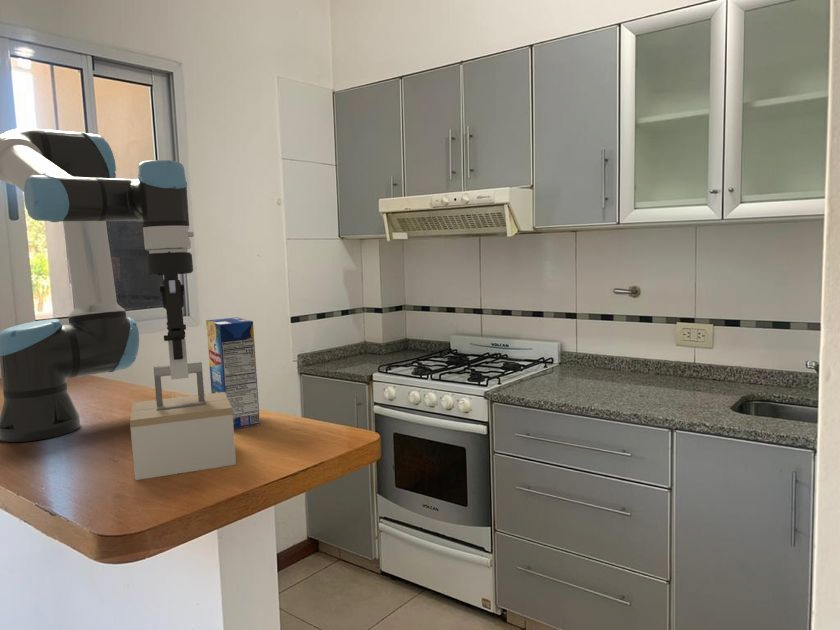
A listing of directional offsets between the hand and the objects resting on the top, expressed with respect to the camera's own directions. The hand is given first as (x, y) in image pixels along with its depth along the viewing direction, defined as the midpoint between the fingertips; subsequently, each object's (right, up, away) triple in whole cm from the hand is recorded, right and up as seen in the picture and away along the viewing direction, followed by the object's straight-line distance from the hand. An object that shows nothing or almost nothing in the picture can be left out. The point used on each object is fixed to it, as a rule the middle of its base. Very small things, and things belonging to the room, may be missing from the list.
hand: (179, 372), depth 114 cm
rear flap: (-1, -6, +3) cm, 7 cm away
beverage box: (+3, -13, +25) cm, 28 cm away
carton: (+1, -16, 0) cm, 16 cm away
